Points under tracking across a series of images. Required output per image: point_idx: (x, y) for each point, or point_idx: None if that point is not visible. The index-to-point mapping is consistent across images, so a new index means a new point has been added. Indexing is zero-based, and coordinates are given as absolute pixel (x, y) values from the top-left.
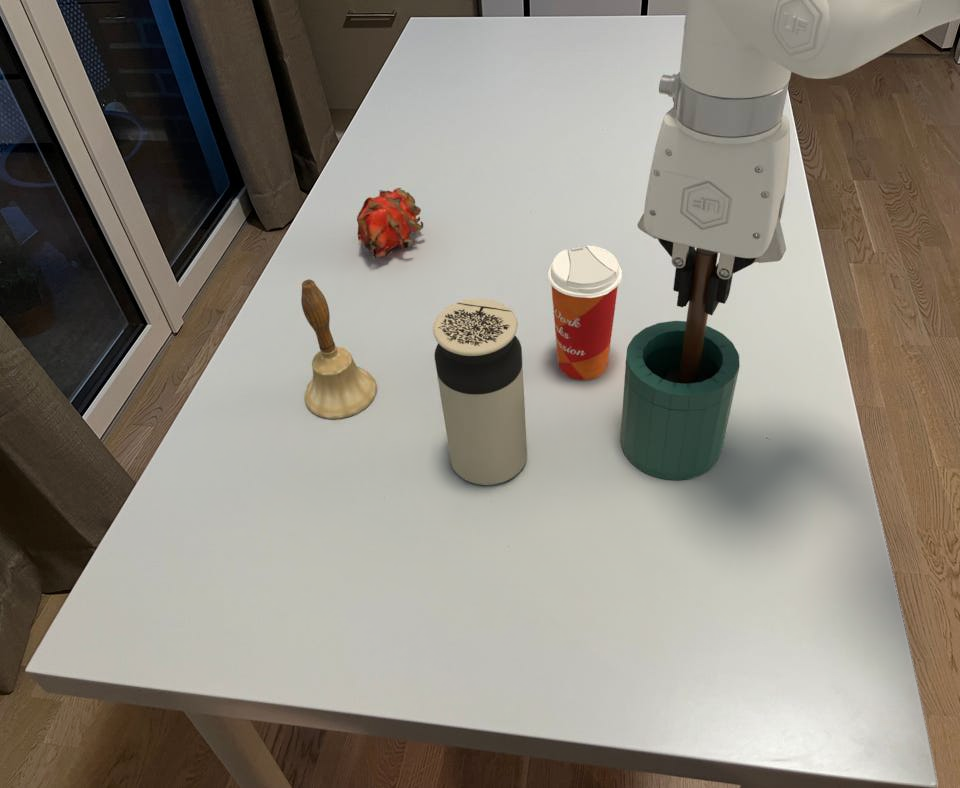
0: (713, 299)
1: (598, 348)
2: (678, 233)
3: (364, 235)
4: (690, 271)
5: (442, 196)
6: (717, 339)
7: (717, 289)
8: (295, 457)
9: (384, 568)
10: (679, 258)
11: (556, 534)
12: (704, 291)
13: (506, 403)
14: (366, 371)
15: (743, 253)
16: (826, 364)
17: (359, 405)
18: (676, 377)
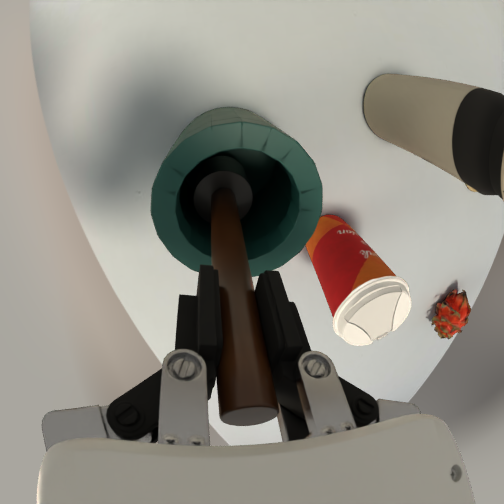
0: (201, 294)
1: (325, 241)
2: (381, 466)
3: (467, 299)
4: (277, 350)
5: (410, 345)
6: (194, 256)
7: (197, 320)
8: None
9: (428, 7)
10: (316, 376)
11: (318, 26)
12: (228, 311)
13: (443, 93)
14: (470, 187)
15: (102, 464)
16: (120, 287)
17: None
18: (238, 204)
